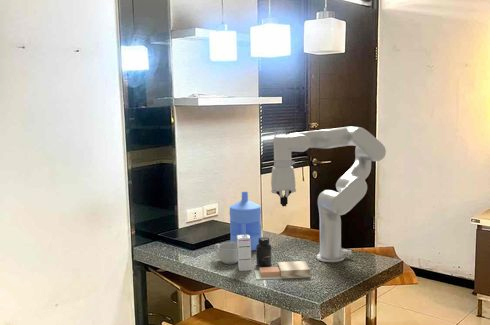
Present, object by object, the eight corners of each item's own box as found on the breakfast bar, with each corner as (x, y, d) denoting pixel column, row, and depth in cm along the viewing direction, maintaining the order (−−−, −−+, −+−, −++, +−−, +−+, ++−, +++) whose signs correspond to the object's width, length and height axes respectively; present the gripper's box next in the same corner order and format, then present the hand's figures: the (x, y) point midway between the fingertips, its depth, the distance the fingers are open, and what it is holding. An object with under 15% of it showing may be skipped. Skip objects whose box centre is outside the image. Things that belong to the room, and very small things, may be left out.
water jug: (233, 242, 256) (231, 189, 253) (263, 243, 254) (262, 189, 251) (228, 251, 241) (226, 195, 238) (260, 252, 239) (258, 195, 236)
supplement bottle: (267, 268, 216) (266, 241, 214) (253, 265, 219) (253, 239, 218) (274, 263, 221) (274, 237, 220) (261, 261, 225) (260, 235, 224)
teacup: (246, 261, 225) (246, 244, 224) (230, 267, 218) (229, 250, 217) (225, 255, 235) (224, 239, 234) (208, 261, 227) (208, 244, 226)
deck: (305, 267, 214) (304, 260, 214) (310, 276, 203) (310, 269, 203) (277, 268, 213) (277, 262, 213) (281, 277, 202) (281, 270, 202)
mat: (305, 268, 214) (305, 267, 214) (310, 277, 203) (310, 276, 203) (254, 270, 213) (254, 270, 212) (256, 279, 202) (256, 279, 202)
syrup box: (252, 270, 213) (251, 237, 211) (238, 271, 213) (237, 238, 211) (250, 266, 219) (250, 234, 217) (237, 266, 218) (236, 234, 217)
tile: (278, 271, 210) (278, 266, 210) (280, 276, 204) (280, 271, 204) (259, 272, 210) (259, 267, 210) (260, 277, 204) (260, 272, 204)
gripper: (298, 162, 218) (299, 203, 220) (264, 163, 216) (265, 205, 219) (301, 164, 210) (302, 206, 212) (266, 166, 209) (268, 208, 211)
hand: (284, 205), depth 215 cm, fingers closed
